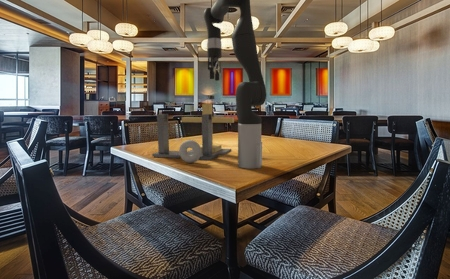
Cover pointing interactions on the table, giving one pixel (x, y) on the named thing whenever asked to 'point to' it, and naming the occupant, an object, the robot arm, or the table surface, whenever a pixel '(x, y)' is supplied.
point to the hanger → (208, 110)
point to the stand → (205, 154)
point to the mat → (220, 152)
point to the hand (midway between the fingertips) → (214, 79)
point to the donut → (196, 149)
